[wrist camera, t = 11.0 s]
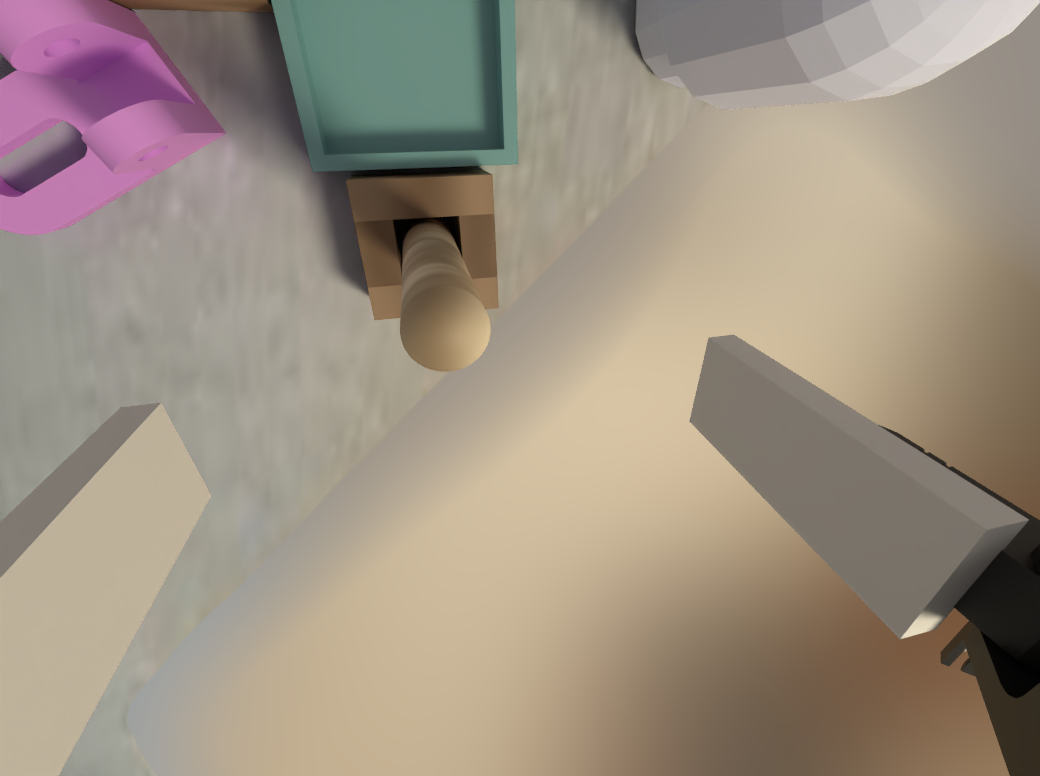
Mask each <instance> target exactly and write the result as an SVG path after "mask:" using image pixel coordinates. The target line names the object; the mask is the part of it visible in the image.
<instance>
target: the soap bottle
mask: <svg viewBox="0 0 1040 776" xmlns="http://www.w3.org/2000/svg"><path fill="white" fill-rule="evenodd" d="M1039 3H1040V0H636V31H635V32H636V36H637V39H638V43H639V46H640V50H641V54H642V57H643V60H644V61H645V62H646V64H647V65H648V66H649V68H650V69H651V70H652V72H653V73H654V74H655V75H656V77H657V78H658V79H660V80H662V81H665V82H667V83H669V84H671V85H674V86H676V87H678V88H683V87H687V89H688V90H689V91H690V93H691V94H692V95H693V97H695V98H698V99H700V100H702V101H704V102H707V103H709V104H711V105H713V106H716V107H718V108H720V109H723V110H728V109H742V108H756V107H770V106H785V105H799V104H814V103H829V102H843V101H853V100H860V99H868V98H875V97H883V96H890V95H893V94H896V93H899V92H902V91H904V90H907V89H910V88H913V87H916V86H919V85H921V84H924V83H927V82H929V81H930V80H932V79H934V78H935V77H937V76H939V75H941V74H943V73H944V72H946V71H948V70H950V69H951V68H953V67H955V66H957V65H958V64H960V63H962V62H963V61H965V60H967V59H968V58H970V57H972V56H973V55H975V54H977V53H978V52H980V51H982V50H983V49H985V48H986V47H988V46H990V45H991V44H993V43H995V42H996V41H998V40H1000V39H1001V38H1003V37H1005V36H1006V35H1008V34H1010V33H1011V32H1012V31H1013V30H1014V29H1015V28H1016V27H1017V26H1018V25H1019V24H1020V23H1021V22H1022V21H1023V20H1024V19H1025V18H1026V17H1027V16H1028V14H1030V13H1031V12H1032V10H1033V9H1034V8H1035V7H1036V6H1037V5H1038V4H1039Z"/></svg>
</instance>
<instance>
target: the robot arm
mask: <svg viewBox="0 0 1040 776" xmlns="http://www.w3.org/2000/svg"><path fill="white" fill-rule="evenodd" d="M690 422H691V423H692V424H693V425H694V426H695V427H696V428H697V429H698V430H699V432H700V433H701V434H702V435H703V436H704V437H705V438H706V439H707V440H708V441H709V442H710V443H711V444H712V445H713V446H714V447H715V448H716V449H717V450H718V451H719V452H720V453H721V454H722V455H723V456H724V457H725V458H726V460H728V461H729V462H730V464H731V465H732V466H733V467H734V468H735V469H736V470H737V471H738V472H739V473H740V474H741V475H742V476H743V477H744V478H745V479H746V480H747V481H748V482H749V483H750V484H751V485H752V486H753V487H754V488H755V490H756V491H757V492H758V493H759V494H760V495H761V496H762V497H763V498H764V499H765V500H766V501H767V502H768V503H769V504H770V505H771V506H772V507H773V508H774V509H775V510H776V511H777V512H778V513H779V514H780V515H781V516H782V517H783V519H784V520H785V521H786V522H787V523H788V524H789V525H790V526H791V527H792V528H793V529H794V530H795V531H796V532H797V533H798V534H799V535H800V536H801V537H802V538H803V539H804V540H805V541H806V542H807V543H808V544H809V545H810V546H811V548H813V550H815V552H816V553H817V554H818V555H819V556H820V557H821V558H822V559H823V560H824V561H825V562H826V563H827V564H828V565H829V566H830V567H831V568H832V569H833V570H834V571H835V572H836V573H837V574H838V575H839V576H840V577H841V578H842V579H843V581H845V583H846V584H847V585H848V586H849V587H850V588H851V589H852V590H853V591H854V592H855V593H856V594H857V595H858V596H859V597H860V598H861V599H862V600H863V601H864V602H865V603H866V604H867V605H868V607H869V608H870V609H871V610H872V611H873V612H874V613H875V614H876V615H877V616H878V617H879V618H880V619H881V620H882V621H883V622H884V623H885V624H886V625H887V626H888V627H889V628H890V629H891V630H892V631H893V632H894V633H895V634H896V636H897V637H898V638H899V639H903V638H906V637H910V636H913V635H916V634H920V633H924V632H928V631H931V630H934V629H936V628H937V627H938V626H939V625H940V624H941V623H942V621H943V620H944V619H945V618H946V617H947V616H948V614H949V613H950V612H951V611H952V610H953V609H954V608H956V609H957V610H958V611H959V612H960V613H961V614H963V615H964V616H965V617H966V618H967V619H968V620H969V622H968V623H967V624H966V625H965V626H964V627H963V628H962V629H961V630H960V632H959V633H958V634H957V635H956V636H955V637H954V638H953V639H952V640H951V641H950V642H949V644H948V645H947V646H946V647H945V648H944V649H943V650H942V651H941V663H942V664H944V665H947V666H950V665H951V664H952V663H953V662H954V661H955V659H957V658H958V656H959V655H960V654H961V653H962V652H963V651H967V652H968V655H969V658H968V659H967V660H966V661H965V662H964V664H963V665H962V667H961V671H963V672H965V673H968V674H971V675H973V676H976V678H977V681H978V684H979V687H980V690H981V693H982V696H983V699H984V702H985V705H986V708H987V710H988V713H989V716H990V719H991V722H992V725H993V728H994V731H995V734H996V736H997V739H998V742H999V745H1000V748H1001V751H1002V754H1003V757H1004V760H1005V763H1006V766H1007V768H1008V771H1009V774H1010V776H1040V520H1038V519H1036V518H1035V517H1033V516H1032V515H1030V514H1028V513H1027V512H1025V511H1023V510H1022V509H1020V508H1018V507H1017V506H1015V505H1014V504H1012V503H1011V502H1009V501H1007V500H1006V499H1004V498H1002V497H1001V496H999V495H998V494H996V493H994V492H993V491H991V490H989V489H988V488H986V487H985V486H983V485H981V484H980V483H978V482H976V481H975V480H973V479H972V478H970V477H968V476H967V475H965V474H963V473H962V472H960V471H959V470H957V469H955V468H954V467H948V466H947V465H946V462H944V461H943V460H941V459H939V458H938V457H936V456H934V455H933V454H931V453H925V452H924V449H923V448H921V447H920V446H918V445H916V444H915V443H913V442H911V441H910V440H909V439H906V438H905V437H903V436H902V435H900V434H898V433H897V432H894V431H892V430H889V429H887V428H885V427H882V426H880V425H877V424H876V423H874V422H872V421H871V420H869V419H868V418H866V417H864V416H862V415H861V414H859V413H858V412H856V411H855V410H853V409H852V408H850V407H848V406H847V405H845V404H844V403H842V402H840V401H839V400H837V399H836V398H834V397H832V396H831V395H829V394H828V393H826V392H824V391H823V390H821V389H820V388H818V387H816V386H815V385H813V384H812V383H810V382H808V381H807V380H805V379H804V378H802V377H801V376H799V375H797V374H796V373H794V372H793V371H791V370H789V369H788V368H786V367H785V366H783V365H781V364H780V363H778V362H777V361H775V360H773V359H772V358H770V357H769V356H767V355H765V354H764V353H762V352H761V351H759V350H757V349H756V348H754V347H753V346H751V345H749V344H748V343H746V342H745V341H743V340H741V339H740V338H738V337H737V336H735V335H728V336H720V337H712V338H709V339H708V343H707V347H706V352H705V356H704V361H703V365H702V369H701V374H700V379H699V382H698V387H697V391H696V396H695V400H694V404H693V409H692V413H691V418H690ZM210 497H211V495H210V493H209V491H208V489H207V487H206V485H205V483H204V482H203V480H202V478H201V476H200V474H199V472H198V470H197V469H196V467H195V465H194V463H193V461H192V459H191V457H190V456H189V454H188V452H187V450H186V448H185V446H184V444H183V443H182V441H181V439H180V437H179V435H178V433H177V431H176V430H175V428H174V426H173V424H172V422H171V420H170V419H169V417H168V415H167V413H166V411H165V409H164V407H163V406H162V404H161V403H156V404H147V405H139V406H131V407H122V408H120V409H119V410H118V411H117V412H116V413H114V414H113V415H112V416H111V417H110V418H109V419H108V420H107V421H106V422H105V423H104V424H103V425H102V426H101V427H100V428H99V429H98V430H97V431H96V432H95V433H94V434H92V435H91V436H90V437H89V438H88V439H87V440H86V441H85V442H84V443H83V444H82V445H81V446H80V447H79V448H78V449H77V450H76V451H75V452H74V453H73V454H72V455H70V456H69V457H68V458H67V459H66V460H65V461H64V462H63V463H62V464H61V465H60V466H59V467H58V468H57V469H56V470H55V471H54V472H53V473H52V474H51V475H50V476H48V477H47V478H46V479H45V480H44V481H43V482H42V483H41V484H40V485H39V486H38V487H37V488H36V489H35V490H34V491H33V492H32V493H31V494H30V495H29V496H28V497H26V498H25V499H24V500H23V501H22V502H21V503H20V504H19V505H18V506H17V507H16V508H15V509H14V510H13V511H12V512H11V513H10V514H9V515H8V516H7V517H6V518H4V519H3V520H2V521H1V522H0V776H58V775H59V774H60V772H61V770H62V768H63V766H64V764H65V763H66V761H67V759H68V757H69V755H70V753H71V752H72V750H73V748H74V746H75V744H76V742H77V741H78V739H79V737H80V735H81V733H82V731H83V730H84V728H85V726H86V724H87V722H88V720H89V719H90V717H91V715H92V713H93V711H94V709H95V708H96V706H97V704H98V702H99V700H100V698H101V697H102V695H103V693H104V691H105V689H106V687H107V686H108V684H109V682H110V680H111V678H112V676H113V675H114V673H115V671H116V669H117V667H118V665H119V664H120V662H121V660H122V658H123V656H124V655H125V653H126V651H127V649H128V647H129V645H130V644H131V642H132V640H133V638H134V636H135V634H136V633H137V631H138V629H139V627H140V625H141V623H142V622H143V620H144V618H145V616H146V614H147V612H148V611H149V609H150V607H151V605H152V603H153V601H154V600H155V598H156V596H157V594H158V592H159V590H160V589H161V587H162V585H163V583H164V581H165V579H166V578H167V576H168V574H169V572H170V570H171V568H172V567H173V565H174V563H175V561H176V559H177V557H178V556H179V554H180V552H181V550H182V548H183V546H184V545H185V543H186V541H187V539H188V537H189V535H190V534H191V532H192V530H193V528H194V526H195V524H196V523H197V521H198V519H199V517H200V515H201V513H202V512H203V510H204V508H205V506H206V504H207V502H208V501H209V499H210Z"/></svg>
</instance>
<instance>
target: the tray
mask: <svg viewBox="0 0 1040 776" xmlns="http://www.w3.org/2000/svg"><path fill="white" fill-rule="evenodd" d="M271 2H272V6H273V10H274V14H275V18H276V22H277V27H278V31H279V35H280V39H281V43H282V47H283V52H284V56H285V60H286V64H287V68H288V72H289V76H290V81H291V85H292V89H293V93H294V97H295V101H296V105H297V110H298V114H299V118H300V122H301V126H302V130H303V134H304V139H305V143H306V147H307V151H308V155H309V159H310V164H311V168H312V172H323V171H350V170H377V169H403V168H430V167H457V166H484V165H510V164H518V142H517V90H516V39H515V0H271Z"/></svg>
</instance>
